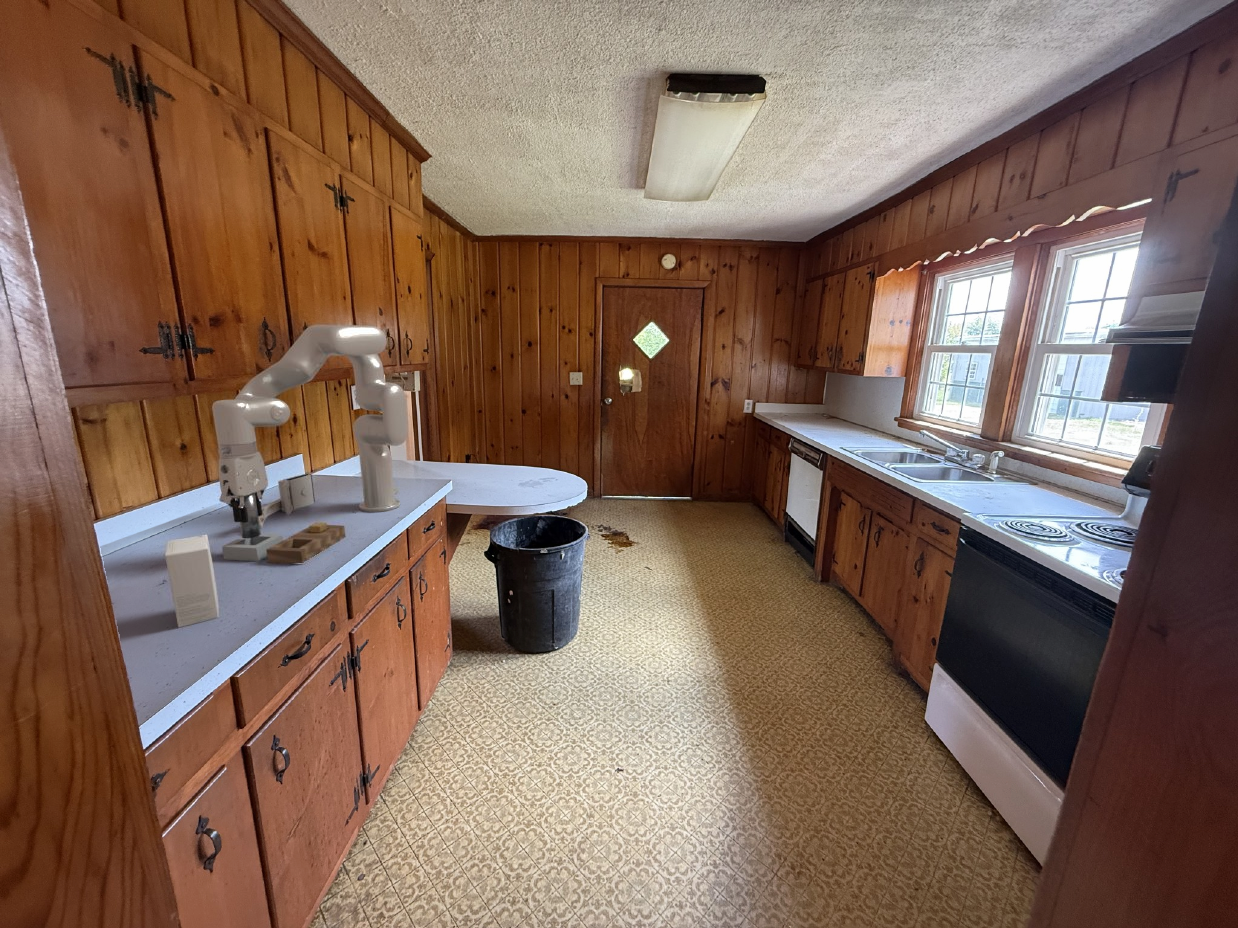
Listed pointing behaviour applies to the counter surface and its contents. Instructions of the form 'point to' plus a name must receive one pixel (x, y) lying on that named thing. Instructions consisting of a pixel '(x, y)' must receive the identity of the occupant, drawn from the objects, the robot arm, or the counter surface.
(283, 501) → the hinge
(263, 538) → the holder
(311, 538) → the socket block
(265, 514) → the wrench
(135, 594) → the counter surface
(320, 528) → the tan square peg
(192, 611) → the skincare box
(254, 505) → the grey metal rounded cylinder
